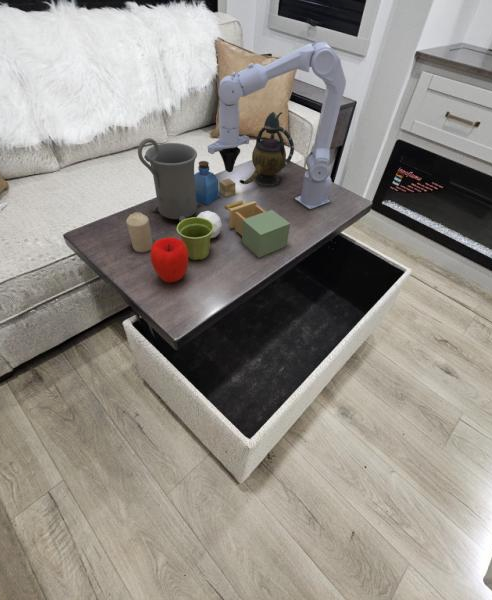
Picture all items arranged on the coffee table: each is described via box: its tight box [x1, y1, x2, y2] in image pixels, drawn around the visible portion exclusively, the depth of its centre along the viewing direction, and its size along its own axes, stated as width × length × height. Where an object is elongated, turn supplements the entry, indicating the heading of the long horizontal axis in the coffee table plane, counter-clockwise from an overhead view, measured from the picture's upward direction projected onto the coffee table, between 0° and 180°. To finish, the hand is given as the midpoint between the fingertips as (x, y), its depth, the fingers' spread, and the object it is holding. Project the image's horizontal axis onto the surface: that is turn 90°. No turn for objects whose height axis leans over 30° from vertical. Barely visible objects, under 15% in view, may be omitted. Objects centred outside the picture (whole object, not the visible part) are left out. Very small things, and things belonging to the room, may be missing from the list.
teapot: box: [239, 111, 295, 187], centre depth 114 cm, size 12×25×23 cm, turn 145°
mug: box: [137, 137, 199, 223], centre depth 95 cm, size 19×15×25 cm
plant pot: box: [176, 216, 214, 261], centre depth 89 cm, size 9×9×9 cm
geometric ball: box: [196, 210, 223, 239], centre depth 96 cm, size 8×8×8 cm
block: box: [218, 178, 236, 198], centre depth 115 cm, size 4×4×4 cm
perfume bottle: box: [194, 160, 219, 206], centre depth 109 cm, size 6×6×12 cm
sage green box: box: [241, 209, 291, 259], centre depth 94 cm, size 8×10×8 cm
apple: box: [149, 236, 189, 283], centre depth 81 cm, size 9×9×11 cm
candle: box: [125, 211, 154, 253], centre depth 89 cm, size 6×6×10 cm
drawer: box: [224, 200, 267, 236], centre depth 100 cm, size 12×9×6 cm
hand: (229, 170), depth 107 cm, fingers closed
